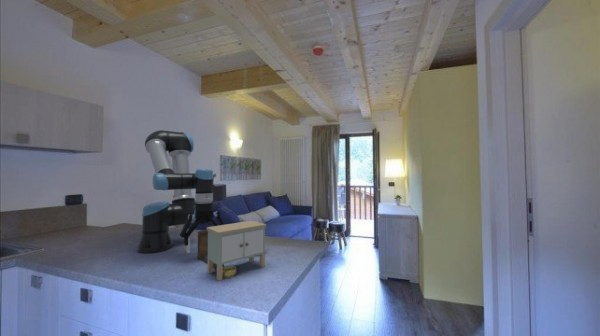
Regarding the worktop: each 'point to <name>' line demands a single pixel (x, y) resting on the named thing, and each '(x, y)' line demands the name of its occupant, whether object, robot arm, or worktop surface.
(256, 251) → the cabinet
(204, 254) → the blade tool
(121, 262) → the worktop surface
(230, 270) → the token
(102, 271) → the worktop surface
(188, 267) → the worktop surface
